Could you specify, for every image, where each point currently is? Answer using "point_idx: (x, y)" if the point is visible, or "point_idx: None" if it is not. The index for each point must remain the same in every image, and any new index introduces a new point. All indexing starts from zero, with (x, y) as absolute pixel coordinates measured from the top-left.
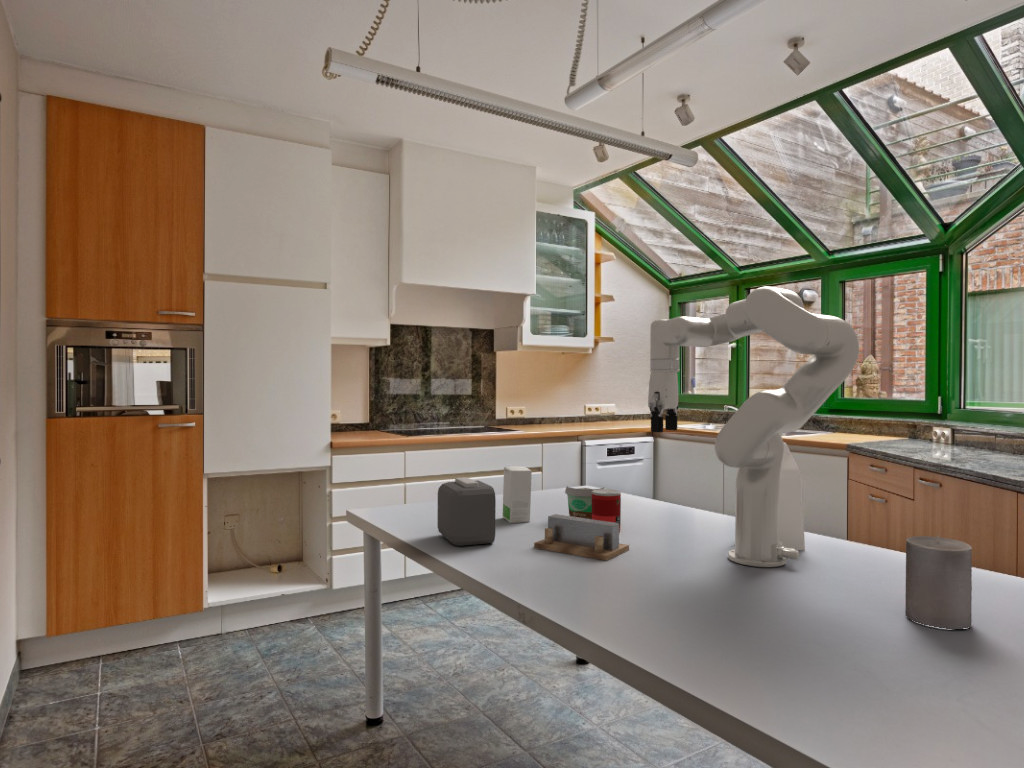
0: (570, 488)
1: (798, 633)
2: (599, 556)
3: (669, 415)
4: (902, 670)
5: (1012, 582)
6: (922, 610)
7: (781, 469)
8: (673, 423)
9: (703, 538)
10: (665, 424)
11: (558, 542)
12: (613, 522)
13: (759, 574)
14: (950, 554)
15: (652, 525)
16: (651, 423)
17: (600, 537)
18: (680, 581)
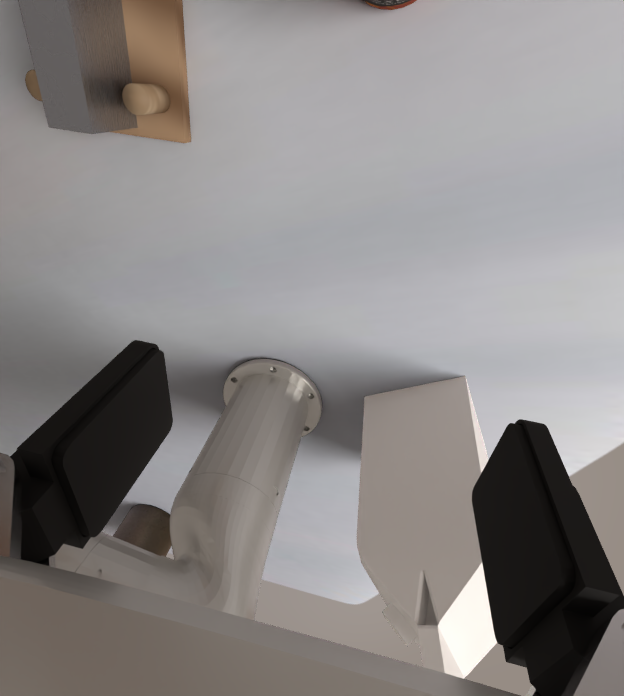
0: None
1: (23, 426)
2: None
3: (551, 615)
4: None
5: (335, 599)
6: (122, 521)
7: (388, 603)
8: (488, 537)
9: (418, 296)
10: (540, 460)
11: None
12: (87, 110)
13: (194, 400)
14: None
15: (572, 98)
16: (85, 393)
17: (35, 94)
18: (71, 302)
